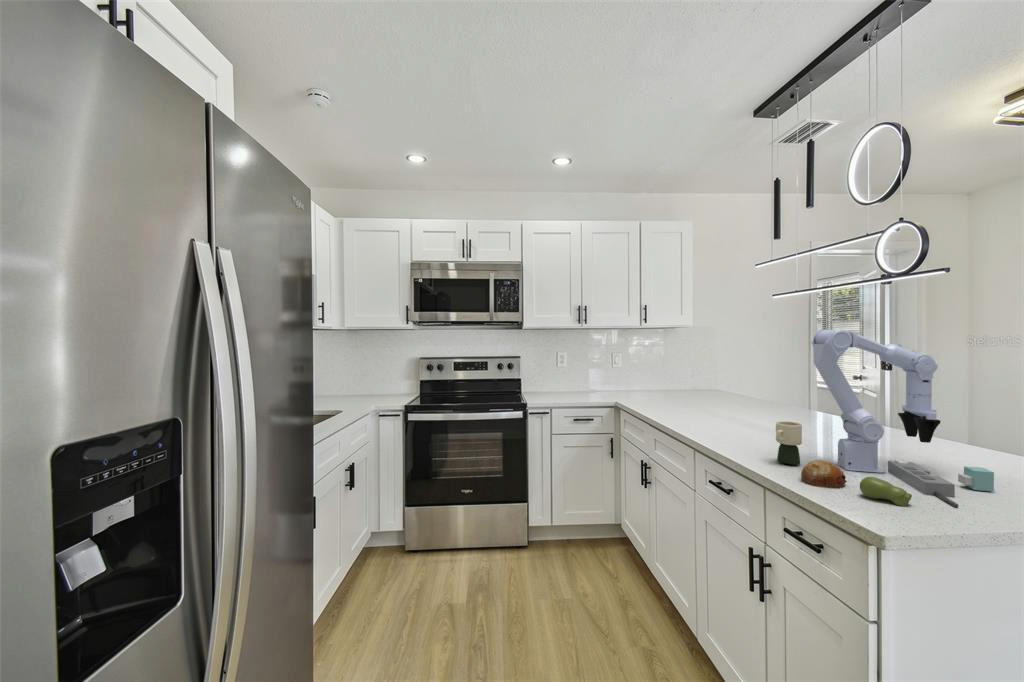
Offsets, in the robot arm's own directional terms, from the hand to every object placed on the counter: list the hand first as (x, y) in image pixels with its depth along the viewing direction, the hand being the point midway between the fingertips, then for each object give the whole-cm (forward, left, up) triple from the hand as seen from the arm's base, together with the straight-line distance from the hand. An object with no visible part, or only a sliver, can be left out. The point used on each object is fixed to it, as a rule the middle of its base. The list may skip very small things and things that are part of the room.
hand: (918, 439), depth 134 cm
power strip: (-6, -18, -9) cm, 21 cm away
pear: (-20, -32, -10) cm, 39 cm away
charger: (+6, -15, -9) cm, 19 cm away
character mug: (-35, -4, -10) cm, 37 cm away
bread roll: (-30, -21, -10) cm, 38 cm away
